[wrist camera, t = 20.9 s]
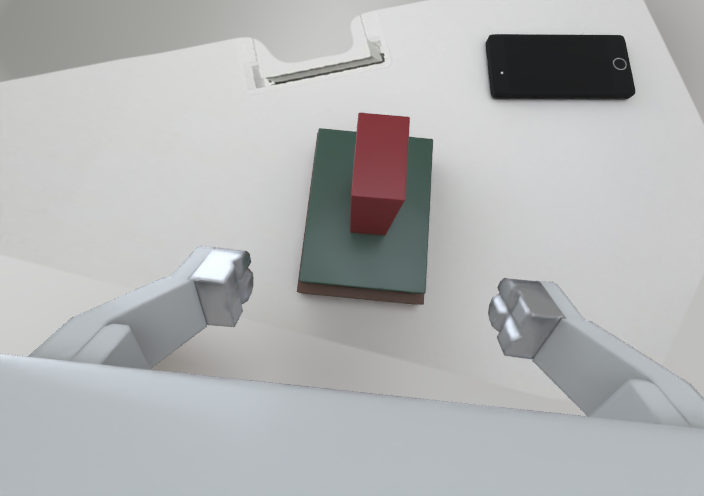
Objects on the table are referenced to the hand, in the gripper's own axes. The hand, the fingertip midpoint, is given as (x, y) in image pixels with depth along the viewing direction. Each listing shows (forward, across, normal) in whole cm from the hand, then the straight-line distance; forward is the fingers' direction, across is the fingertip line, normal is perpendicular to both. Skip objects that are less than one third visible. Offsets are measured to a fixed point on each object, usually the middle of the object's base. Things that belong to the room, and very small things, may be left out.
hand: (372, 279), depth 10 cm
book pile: (+23, 0, +11) cm, 25 cm away
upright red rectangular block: (+19, 0, +7) cm, 20 cm away
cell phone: (+39, -23, -6) cm, 46 cm away
